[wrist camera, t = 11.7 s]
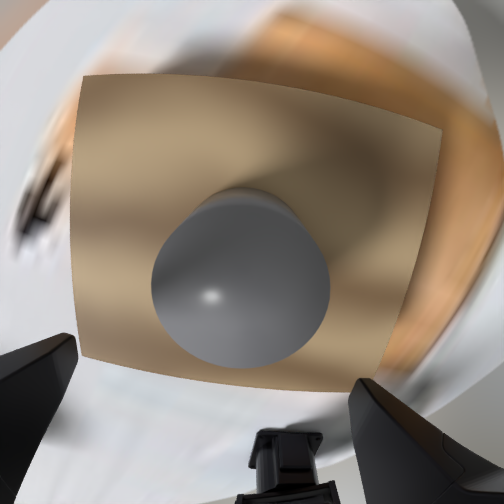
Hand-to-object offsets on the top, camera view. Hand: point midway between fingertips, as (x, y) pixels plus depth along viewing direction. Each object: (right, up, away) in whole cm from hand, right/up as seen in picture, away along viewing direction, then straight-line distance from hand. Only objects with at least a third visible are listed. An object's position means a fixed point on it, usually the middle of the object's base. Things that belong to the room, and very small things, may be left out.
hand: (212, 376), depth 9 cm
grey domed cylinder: (+1, +4, +6) cm, 7 cm away
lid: (+1, +4, +7) cm, 8 cm away
